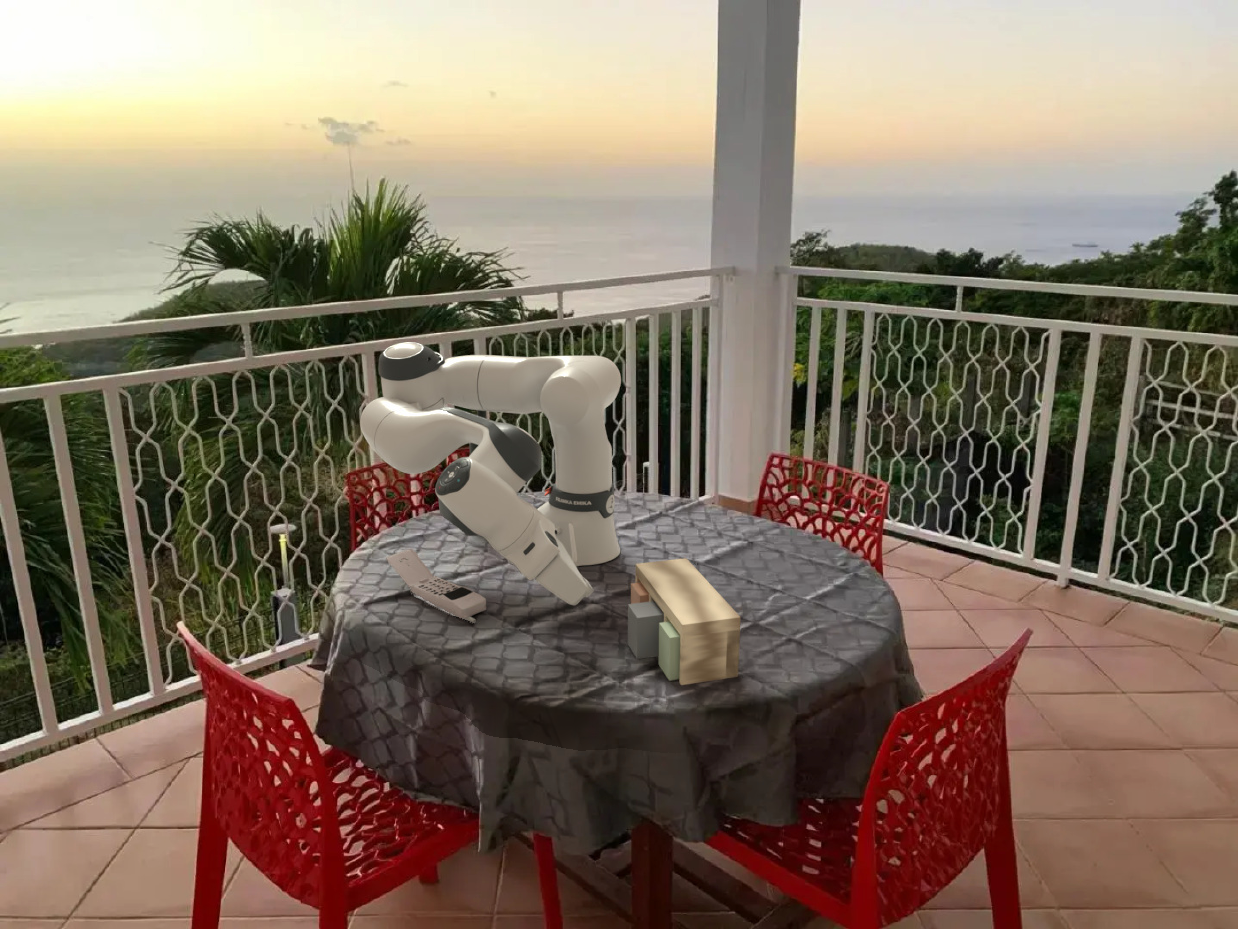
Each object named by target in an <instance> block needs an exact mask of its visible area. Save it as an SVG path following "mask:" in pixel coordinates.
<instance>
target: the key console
mask: <svg viewBox="0 0 1238 929" xmlns="http://www.w3.org/2000/svg"><path fill="white" fill-rule="evenodd" d="M634 580H635V582H634V583H639V582H641V583H642V584H643V586H644V587H645V588H646V590H647V591H648V592H649V602H650V601H655V602H656V603H657V604H658V606H659V607H660V608H661V610H662V611H663V612H664V622H671V623H672V624H673V626H674V627H675V628H676V630H677V631H678V632H679V634H680V679H678V680H679V683H678V684H680V685H681V686H684V685H691V684H698V683H699V684H700V683H703V682H704V683H705V682H711V681H719V680H725V679H731V678H737V677H739V666H740V664H739V662H740V644H741V642H740V639H741V616H740V614H738V613H737V612H736V611H735V609H734V608H733V607H732V606H731V605H730V604H729V603H728V602H727V601H726V600H725V598H724V597H723V596H722V595H721V594H720V593H719V592H718V591H717V590H716V589H715V587H713V586H712V584H711V583H709V581H708V580H707V579H706V578H705V577H704V576H703V575H702V573H700V571H699V570H698V569H697V568H696V567H695V565H693V563H692V562H691V561H689V560H688V558H687V557H683V558H676V559H667V560H666V559H665V560H659V561H650V562H641V563H635V579H634Z"/></svg>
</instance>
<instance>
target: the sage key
mask: <svg viewBox="0 0 1238 929" xmlns="http://www.w3.org/2000/svg"><path fill="white" fill-rule="evenodd" d="M658 665H659V667H660V669H661V670H662V672H663V674H664V675H665V677H666V678H667V679H668V681H675V680H676V681H677V680H679V679H680V634H679V632H678V631H677V630H676V628H675V627H674V626H673V624H672V623H671V622H662V623H659V656H658Z"/></svg>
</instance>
